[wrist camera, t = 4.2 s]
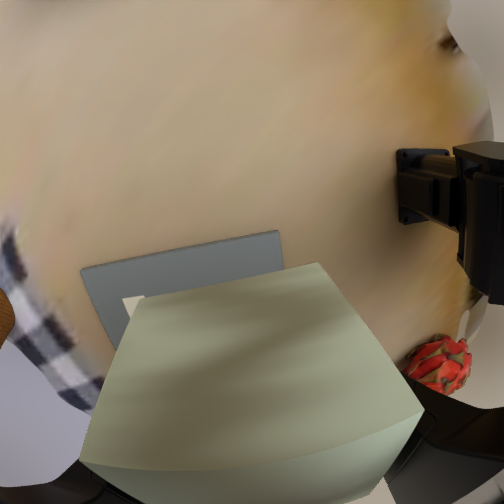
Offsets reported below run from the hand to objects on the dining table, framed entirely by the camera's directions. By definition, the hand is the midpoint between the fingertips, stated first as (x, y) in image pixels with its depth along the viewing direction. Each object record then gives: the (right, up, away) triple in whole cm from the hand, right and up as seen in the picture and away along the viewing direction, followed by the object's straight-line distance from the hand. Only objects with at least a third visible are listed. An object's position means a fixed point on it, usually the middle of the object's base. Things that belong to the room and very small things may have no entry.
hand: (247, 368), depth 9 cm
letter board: (-5, -3, +14) cm, 15 cm away
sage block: (0, 0, +1) cm, 1 cm away
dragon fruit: (+23, -9, +20) cm, 32 cm away
